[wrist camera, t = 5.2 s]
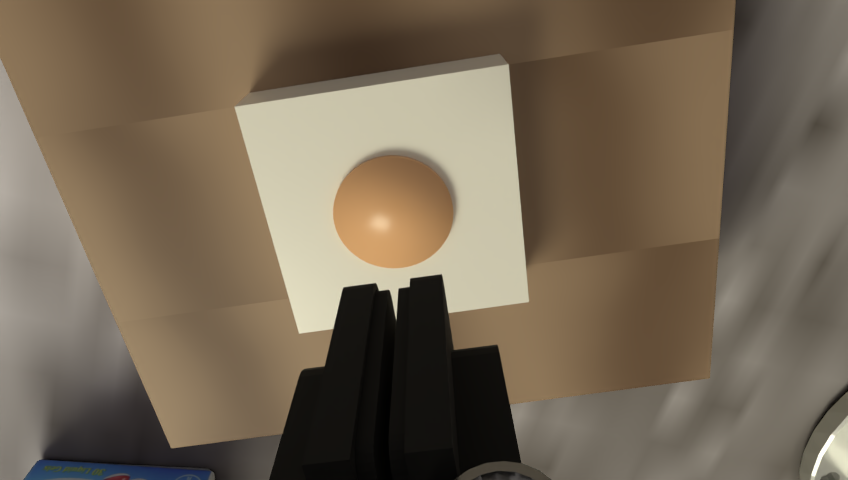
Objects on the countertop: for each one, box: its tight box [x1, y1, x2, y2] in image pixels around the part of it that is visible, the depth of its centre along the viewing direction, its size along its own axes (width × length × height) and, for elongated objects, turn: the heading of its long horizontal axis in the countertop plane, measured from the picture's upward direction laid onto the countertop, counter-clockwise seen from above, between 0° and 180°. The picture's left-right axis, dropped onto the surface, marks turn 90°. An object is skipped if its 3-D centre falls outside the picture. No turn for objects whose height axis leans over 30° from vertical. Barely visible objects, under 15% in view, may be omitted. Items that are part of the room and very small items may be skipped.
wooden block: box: [0, 0, 736, 448], centre depth 19 cm, size 18×16×5 cm
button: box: [235, 54, 529, 334], centre depth 18 cm, size 6×6×6 cm
